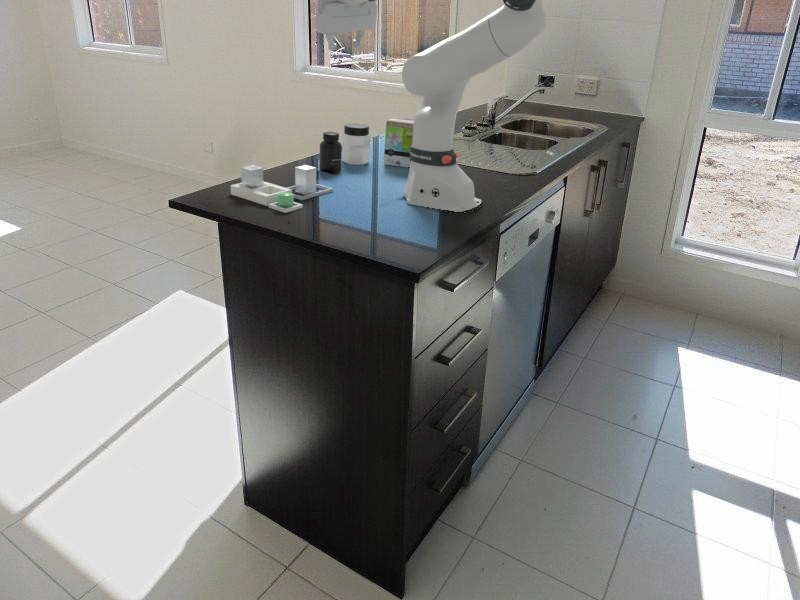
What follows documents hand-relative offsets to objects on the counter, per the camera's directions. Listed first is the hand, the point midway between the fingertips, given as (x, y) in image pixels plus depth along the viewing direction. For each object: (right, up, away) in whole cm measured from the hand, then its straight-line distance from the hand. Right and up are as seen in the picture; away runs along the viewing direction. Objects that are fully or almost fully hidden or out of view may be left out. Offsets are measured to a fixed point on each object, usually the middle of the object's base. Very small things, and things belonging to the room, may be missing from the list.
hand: (344, 48), depth 172 cm
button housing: (-14, -47, -13) cm, 50 cm away
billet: (-11, -40, -1) cm, 41 cm away
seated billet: (-24, -41, -5) cm, 48 cm away
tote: (-11, -41, 0) cm, 42 cm away
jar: (0, -23, +38) cm, 44 cm away
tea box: (+18, -24, +39) cm, 49 cm away
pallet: (-22, -43, -6) cm, 48 cm away
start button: (-14, -45, -14) cm, 49 cm away
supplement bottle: (-7, -29, +25) cm, 39 cm away
